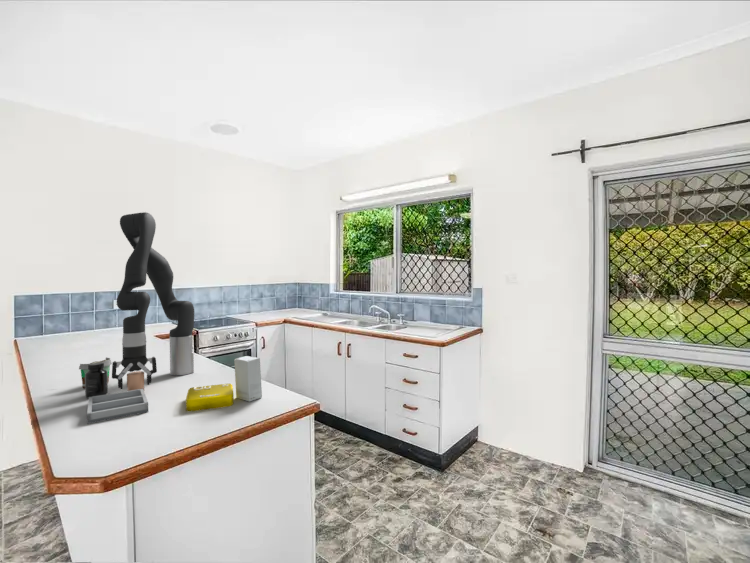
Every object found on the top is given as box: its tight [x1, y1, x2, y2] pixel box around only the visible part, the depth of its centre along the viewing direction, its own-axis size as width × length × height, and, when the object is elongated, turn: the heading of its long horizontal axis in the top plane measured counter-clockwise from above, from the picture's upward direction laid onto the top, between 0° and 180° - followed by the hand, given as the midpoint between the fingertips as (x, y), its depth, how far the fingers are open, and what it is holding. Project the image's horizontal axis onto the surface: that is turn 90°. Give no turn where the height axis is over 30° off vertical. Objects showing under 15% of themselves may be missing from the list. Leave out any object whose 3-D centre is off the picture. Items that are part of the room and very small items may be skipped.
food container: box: [78, 357, 113, 389], centre depth 152 cm, size 12×6×10 cm, turn 168°
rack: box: [86, 388, 149, 425], centre depth 125 cm, size 16×19×3 cm
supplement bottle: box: [84, 362, 109, 399], centre depth 139 cm, size 7×7×12 cm
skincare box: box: [233, 355, 263, 402], centre depth 136 cm, size 8×6×15 cm
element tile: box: [185, 383, 235, 412], centre depth 132 cm, size 15×15×5 cm
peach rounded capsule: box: [126, 370, 145, 391], centre depth 140 cm, size 6×6×8 cm
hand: (134, 386), depth 140 cm, fingers open, 8 cm apart
